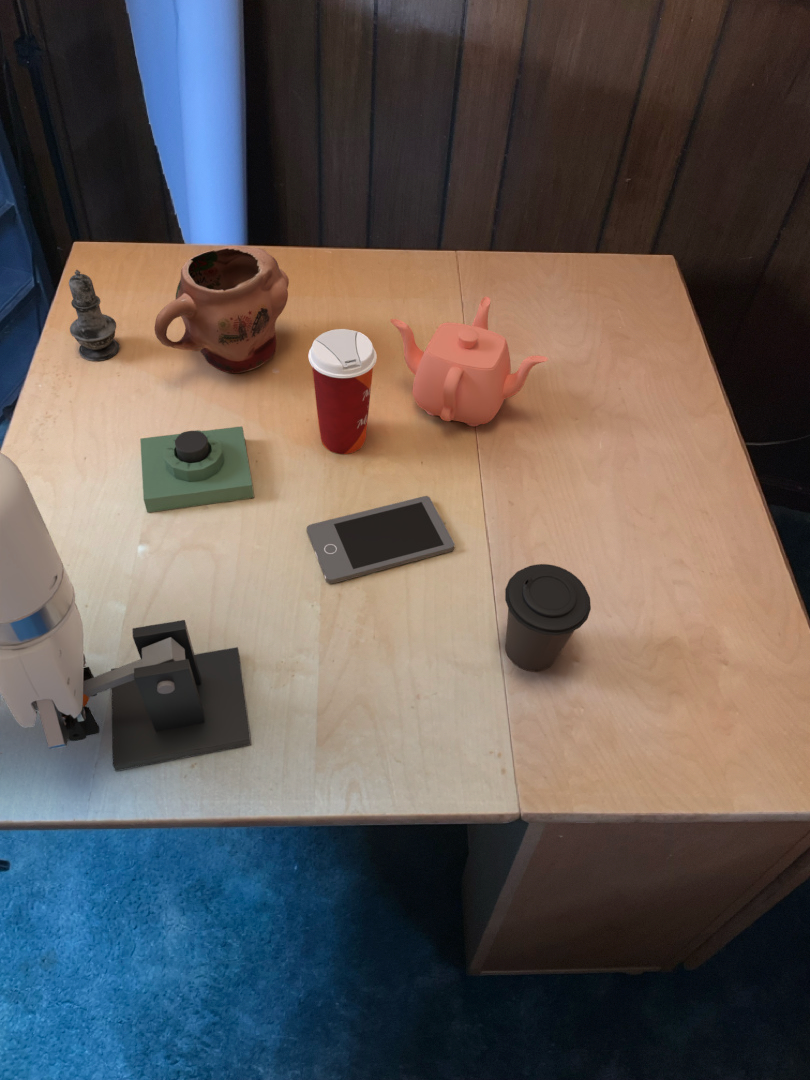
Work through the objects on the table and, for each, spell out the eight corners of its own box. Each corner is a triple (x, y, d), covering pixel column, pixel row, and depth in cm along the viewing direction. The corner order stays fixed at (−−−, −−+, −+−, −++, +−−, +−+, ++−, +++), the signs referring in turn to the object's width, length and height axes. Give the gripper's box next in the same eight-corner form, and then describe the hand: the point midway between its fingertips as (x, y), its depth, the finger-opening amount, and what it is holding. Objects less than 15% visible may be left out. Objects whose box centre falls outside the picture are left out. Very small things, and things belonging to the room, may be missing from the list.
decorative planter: (205, 416, 102) (189, 323, 91) (142, 374, 106) (119, 280, 95) (314, 344, 112) (310, 253, 101) (251, 308, 117) (242, 218, 106)
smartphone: (428, 498, 95) (428, 494, 94) (456, 549, 90) (456, 545, 89) (305, 528, 91) (305, 524, 90) (327, 584, 86) (327, 580, 85)
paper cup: (382, 452, 99) (387, 360, 89) (323, 466, 97) (320, 374, 86) (361, 411, 104) (362, 319, 93) (304, 424, 102) (298, 332, 91)
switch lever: (64, 724, 70) (41, 711, 68) (65, 692, 72) (42, 678, 70) (189, 677, 69) (170, 661, 67) (186, 646, 71) (168, 629, 69)
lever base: (115, 771, 72) (85, 714, 63) (113, 674, 78) (85, 611, 69) (251, 744, 74) (239, 686, 66) (238, 653, 80) (226, 589, 72)
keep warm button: (178, 465, 91) (175, 454, 90) (176, 443, 93) (173, 432, 92) (210, 461, 92) (208, 450, 90) (208, 439, 94) (205, 428, 92)
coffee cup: (486, 616, 85) (500, 557, 77) (562, 614, 85) (583, 556, 78) (497, 685, 79) (514, 629, 72) (578, 682, 80) (602, 626, 72)
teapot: (386, 384, 108) (389, 314, 99) (478, 358, 112) (488, 289, 104) (437, 454, 100) (445, 384, 91) (534, 423, 104) (550, 354, 96)
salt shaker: (109, 330, 112) (88, 251, 102) (129, 352, 109) (109, 273, 100) (69, 345, 109) (43, 266, 100) (88, 368, 106) (64, 288, 97)
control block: (147, 512, 91) (140, 488, 88) (143, 451, 97) (137, 426, 94) (254, 498, 93) (250, 473, 90) (244, 439, 99) (240, 414, 96)
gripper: (-30, 518, 63) (40, 645, 77) (-53, 705, 53) (33, 811, 67) (71, 504, 64) (122, 631, 78) (68, 683, 54) (127, 792, 68)
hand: (80, 713), depth 72 cm, fingers closed on switch lever, 3 cm apart
